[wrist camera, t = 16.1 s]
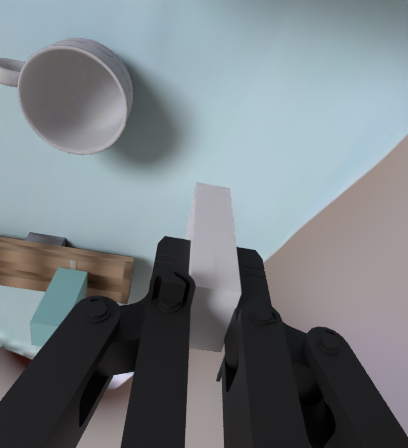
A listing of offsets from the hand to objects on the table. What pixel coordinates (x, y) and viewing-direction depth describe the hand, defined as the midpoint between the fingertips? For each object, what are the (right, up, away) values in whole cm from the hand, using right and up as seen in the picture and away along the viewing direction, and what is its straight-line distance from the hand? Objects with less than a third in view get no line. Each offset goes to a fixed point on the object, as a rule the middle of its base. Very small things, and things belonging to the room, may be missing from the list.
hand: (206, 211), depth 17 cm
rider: (-19, -8, +38) cm, 43 cm away
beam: (-24, -5, +40) cm, 47 cm away
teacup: (-14, +16, +26) cm, 34 cm away
